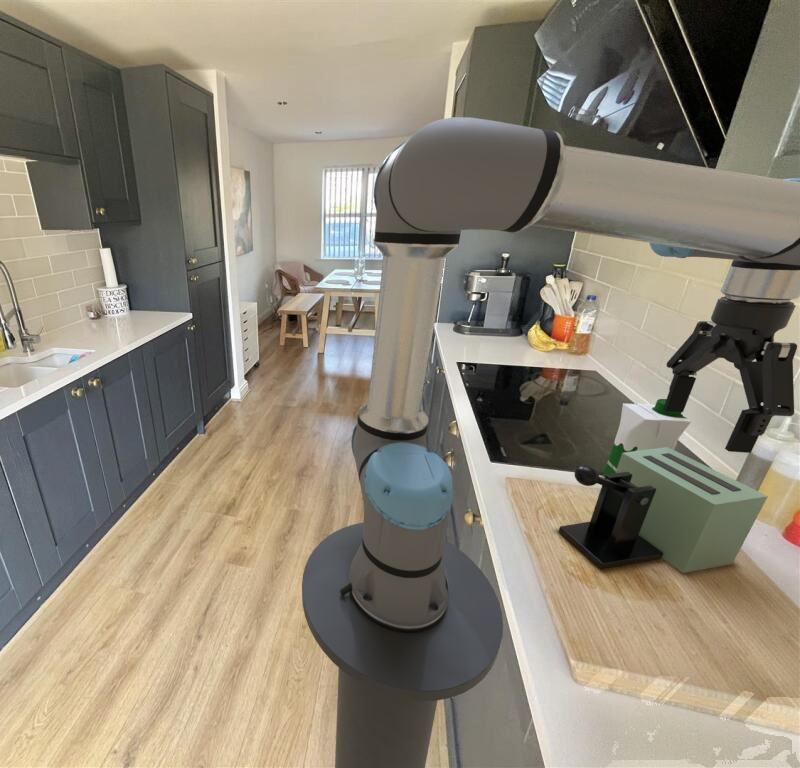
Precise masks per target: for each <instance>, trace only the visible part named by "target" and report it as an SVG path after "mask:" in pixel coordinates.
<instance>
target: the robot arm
mask: <svg viewBox="0 0 800 768" xmlns="http://www.w3.org/2000/svg"><path fill="white" fill-rule="evenodd" d="M373 200H374V201H373V204H374V207H375V210H376V216H375V217H376V218H375V228H374V240H373V244H374V246H375V247H376V248H377V249H378V250H379V252H380V253H381V255H382V266H381V273H380V275H381V276H380V285H379V294H378V303H377V311H376V314H377V315H376V323H375V333H374V340H373V341H374V342H373V351H372V362H371V371H370V380H369V391H368V401H367V402H365V403H364V404H362V405H361V406H360V407H359V408H358V411H357V420H356V422H355V424H354V427H353V429H352V433H351V439H350V440H351V441H350V443H351V446H350V447H351V451H352V455H353V458H354V461H355V466H356V471H357V477H358V481H359V485H360V491H361V497H362V502H363V503H362V504H363V519H362V520H363V521H362V523H363V538H362V543H361V545H360V547H359V549H358V551H357V553H356V554H355V556H354V558H353V560H352V563H351V566H350V570H349V580H348V585H346V586H345V587H344V588H342V589H341V590H340V593H341V594H342V595H345V594H346V593H348V592H349V591H350V594H351V597H352V599H353V601H354V603H355V604H356V606H357V607H358V609H359V610H360V611H361V612H362V613H363V614H364V615H365V616H366V617H367V618H369V619H370V620H371V621H373V622H374V623H376V624H378V625H380V626H382V627H384V628H386V629H389V630H392V631H396V632H402V633H417V632H422V631H425V630H428V629H430V628H432V627H434V626H435V625H436V624H438V623H439V622H440V621H441V619H442V618H443V617H444V615H445V613H446V610H447V605H448V599H449V589H448V588H449V586H448V580H447V579H446V578H447V574H446V575H445V572H446V570H445V571H444V567H443V564H442V560H441V559H442V553H443V547H444V541H445V540H446V535H447V529H448V523H449V517H450V511H451V508H452V506H453V500H454V494H453V491H454V489H453V486H454V485H453V476H452V471H451V470H450V467H449V466H448V464H447V463H446V462H445V460H444V459H442V458H441V456H439V455H438V454H437V453H435V452H433V451H432V452H430V451H429V449H428V448H427V447H425V444H426V441H427V440H426V439H427V434H428V433H427V432H428V426H429V417H428V414H426V413H425V411H424V410H423V409H422V404H423V397H424V393H425V385H426V379H427V378H426V377H427V372H428V366H429V360H430V353H431V347H432V341H433V335H434V329H435V322H436V316H437V310H438V305H439V304H438V303H439V298H440V291H441V285H442V278H443V273H444V266H445V261H446V258H447V257H448V256H449V255H450V254H451V253H452V252H453V251H455V250H456V249H457V248H459V245H460V240H461V234H462V231H466V230H467V231H468V230H470V231H471V230H479V231H480V230H482V231H485V230H486V231H499V232H505V233H513V234H517V233H520V232H522V231H524V230H526V229H527V228H529V227H531V226H533V227H540V228H546V229H553V230H562V231H568V232H575V233H581V234H588V235H596V236H602V237H610V238H616V239H621V240H628V241H634V242H635V241H636V242H643V243H649V246H650V248H651V250H652V252H654V253H655V254H656V255H657V256H660V257H663V258H664V257H665V258H677V259H687V258H710V259H718V260H719V259H721V260H732V261H731V264H730V267H729V269H728V271H727V273H726V277H725V279H724V281H723V284H722V286H721V289H720V293H722V294H723V295H724V296H721V297H720V298H718V299H717V301H716V303H715V306H714V309H713V311H712V314H711V316H710V320H711V321H710V320H706V321H705V320H700V321H698V322H697V323H696V325H695V327H694V329H693V331H692V333H691V334H690V335H689V337H688V338H687V339H686V340H685V341H684V342H683V343H682V345H681V346H679V348H678V349H677V351H675V353H674V354H673V355H672V356H671V357H670V359H668V361H667V362H666V367H667V368H668V369H671V370H672V375H673V376H672V379H671V382H670V385H669V389H668V394H667V396H666V398H665V399H666V402H665V404H664V407H663V410H664V411H670V412H682V413H684V411H685V409H686V406H687V403H688V400H689V398H690V395H691V393H692V390H693V388H694V385H695V382H696V380H697V377H695V376H697V375H698V372H699V371H701V370H702V369H704V368H705V367H707V366H708V365H711V364H712V363H713V362H715V361H716V360H717V359H724V360H726V361H727V362H728V363H731V364H733V366H734V368H735V369H736V370H738V371H739V374H740V378H741V379H740V380H741V382H742V386H743V389H744V394H745V397H746V401H747V405H748V408H747V409H742V410H741V413H740V415H739V417H738V419H737V421H736V423H735V426H734V427H733V430H732V432H731V434H730V436H729V438H728V440H727V443H726V445H725V447H724V449H725V450H726V451H728V452H731V453H744V454H745V453H746V454H747V453H748V454H751V453H752V452H753V449H754V448H755V445H756V443H757V441H758V439H759V437H760V436H763V435H764V434H765V432H766V430H767V428H768V426H769V425H770V423H771V420H772V419H773V417H777V416H778V417H792V416H794V414H795V391H794V390H795V389H794V388H795V387H794V359H795V355H796V353H797V349H798V344H797V343H795V342H778V341H775V335H776V333H777V332H778V331H780V330H783V329H785V328H786V327H787V326H788V324H789V322H790V319H791V317H792V315H793V313H794V311H795V309H796V307H797V306H796V304H795V302H793V300H797V299H798V298H800V177H791V178H776V177H769V176H764V175H757V174H750V173H744V172H737V171H731V170H724V169H718V168H711V167H705V166H698V165H693V164H685V163H679V162H674V161H673V162H672V161H666V160H661V159H653V158H647V157H642V156H634V155H630V154H629V155H628V154H621V153H615V152H609V151H602V150H596V149H590V148H583V147H578V146H570V145H565V143H564V139H563V136H562V134H560V133H559V131H558V132H557V131H555V130H550V129H544V128H536V127H531V126H525V125H520V124H514V123H509V122H503V121H497V120H491V119H483V118H476V117H468V116H467V117H466V116H465V117H463V116H453V117H446V118H442V119H437V120H435V121H431V122H430V123H428V124H426V125H424V126H423V127H421V128H420V129H418V130H417V131H416V132H415V133H413V134H412V135H411V136H410V137H408V139H407V140H404V142H402V143H400V144H399V145H397V146H396V147H395V148H394V149H393V150H392V151H391V152H390V153H389V154H388V155H387V157H386V158H385V159H384V161H383V162H382V164H381V166H380V168H379V170H378V172H377V174H376V177H375V180H374V186H373ZM754 360H755V361H754ZM762 404H763V405H762Z"/></svg>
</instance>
